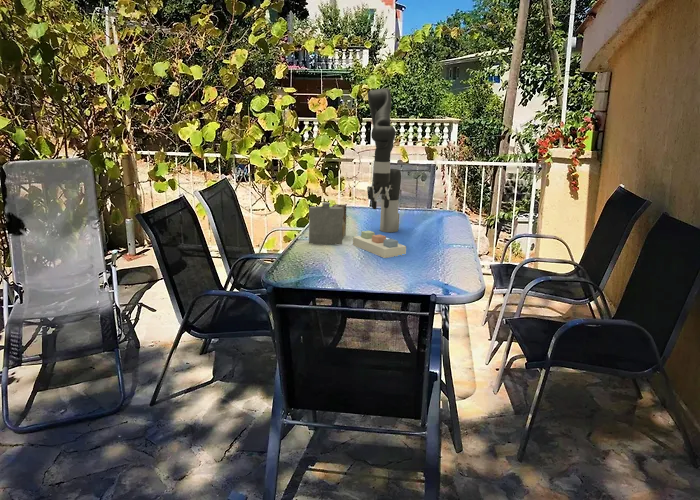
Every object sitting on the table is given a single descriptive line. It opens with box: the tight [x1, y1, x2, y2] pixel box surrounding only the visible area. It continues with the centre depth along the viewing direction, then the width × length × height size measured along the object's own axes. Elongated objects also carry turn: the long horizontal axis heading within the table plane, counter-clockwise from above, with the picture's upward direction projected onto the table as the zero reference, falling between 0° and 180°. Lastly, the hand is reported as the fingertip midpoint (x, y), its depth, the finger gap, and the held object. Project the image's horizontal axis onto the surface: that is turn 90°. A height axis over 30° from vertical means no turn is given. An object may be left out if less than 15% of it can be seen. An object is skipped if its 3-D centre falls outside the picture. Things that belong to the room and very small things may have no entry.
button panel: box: [352, 235, 407, 259], centre depth 249 cm, size 12×26×4 cm, turn 33°
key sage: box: [360, 230, 376, 239], centre depth 256 cm, size 5×5×3 cm
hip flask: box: [308, 201, 343, 245], centre depth 256 cm, size 16×4×20 cm, turn 92°
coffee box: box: [331, 203, 347, 240], centre depth 269 cm, size 9×6×16 cm
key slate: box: [383, 238, 399, 248], centre depth 241 cm, size 5×5×3 cm
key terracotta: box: [372, 234, 387, 243], centre depth 248 cm, size 5×5×3 cm
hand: (380, 208), depth 245 cm, fingers open, 6 cm apart
